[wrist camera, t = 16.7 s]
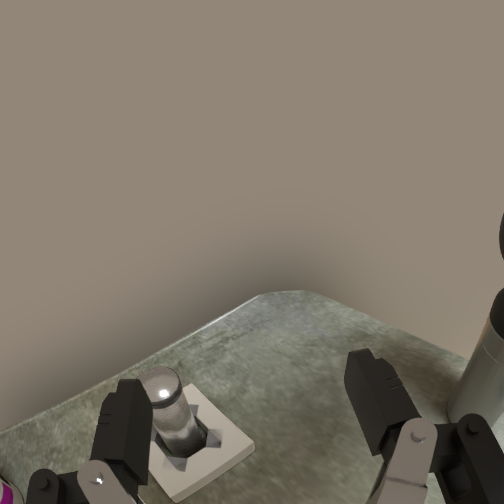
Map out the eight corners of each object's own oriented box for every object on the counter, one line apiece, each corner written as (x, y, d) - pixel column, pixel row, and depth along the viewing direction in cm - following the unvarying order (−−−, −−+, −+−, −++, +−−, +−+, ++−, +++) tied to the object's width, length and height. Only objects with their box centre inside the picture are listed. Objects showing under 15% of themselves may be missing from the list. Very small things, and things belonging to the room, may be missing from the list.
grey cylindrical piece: (190, 423, 40) (164, 359, 34) (212, 446, 37) (188, 385, 30) (161, 441, 37) (125, 380, 31) (181, 466, 34) (146, 410, 27)
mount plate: (194, 393, 46) (191, 383, 45) (255, 450, 36) (253, 441, 35) (125, 433, 38) (118, 424, 37) (176, 503, 29) (170, 497, 28)
